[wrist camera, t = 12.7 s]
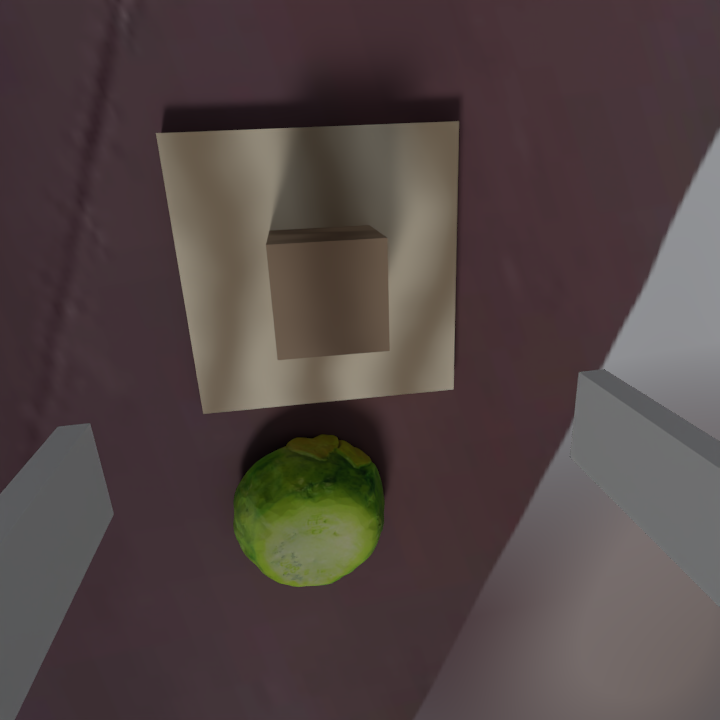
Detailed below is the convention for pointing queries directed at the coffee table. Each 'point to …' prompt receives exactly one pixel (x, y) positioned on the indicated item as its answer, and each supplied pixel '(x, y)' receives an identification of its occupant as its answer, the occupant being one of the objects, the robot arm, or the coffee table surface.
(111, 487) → the coffee table surface
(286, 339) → the walnut cube
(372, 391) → the oak board
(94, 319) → the coffee table surface
